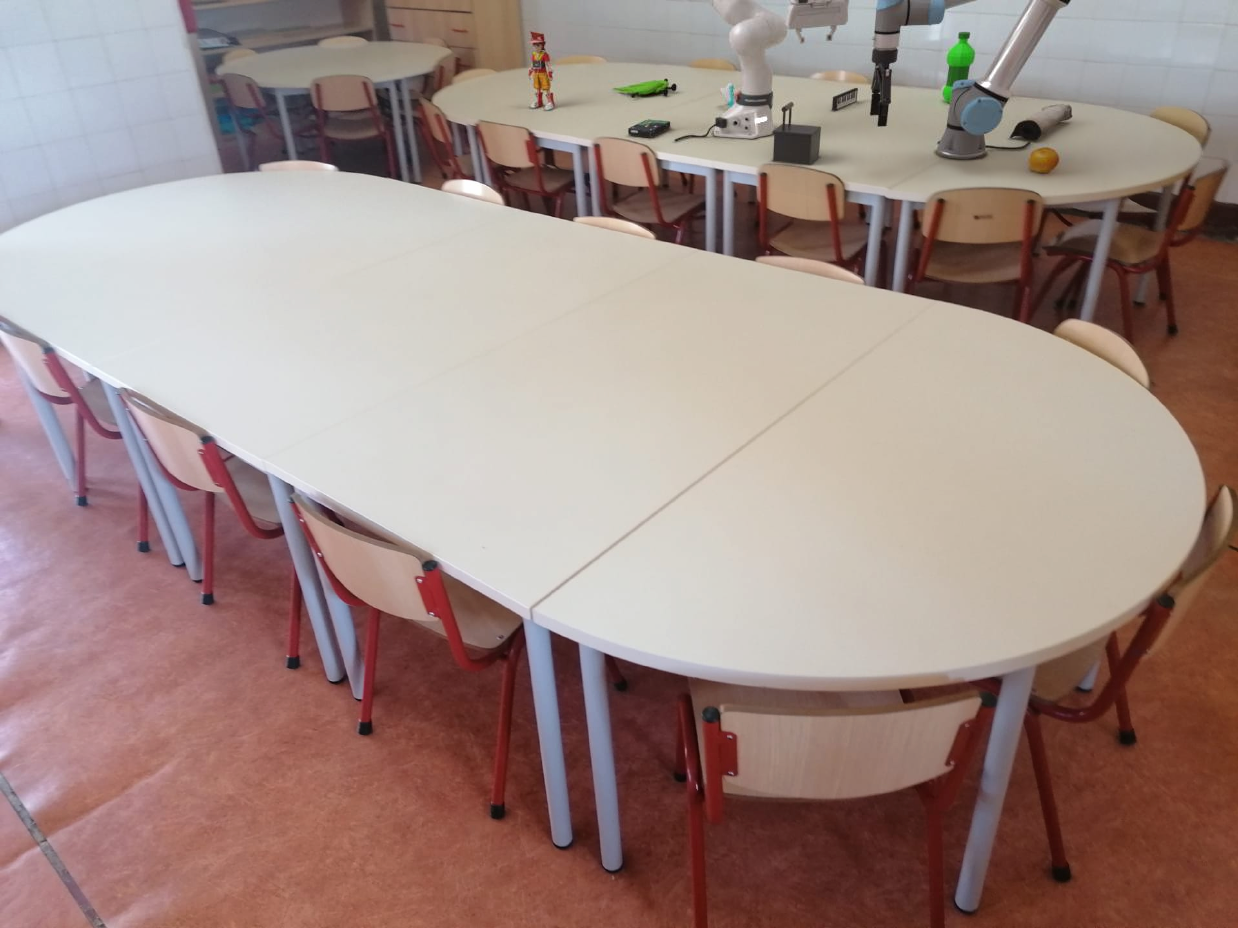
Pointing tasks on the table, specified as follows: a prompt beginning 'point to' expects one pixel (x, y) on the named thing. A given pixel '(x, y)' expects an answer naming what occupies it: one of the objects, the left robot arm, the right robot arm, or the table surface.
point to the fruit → (1043, 160)
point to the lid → (794, 129)
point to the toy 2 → (648, 88)
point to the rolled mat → (1042, 122)
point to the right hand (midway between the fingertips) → (878, 120)
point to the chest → (796, 148)
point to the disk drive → (649, 128)
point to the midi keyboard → (844, 98)
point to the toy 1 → (541, 71)
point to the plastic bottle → (958, 63)
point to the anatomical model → (729, 94)
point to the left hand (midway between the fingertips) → (815, 42)
